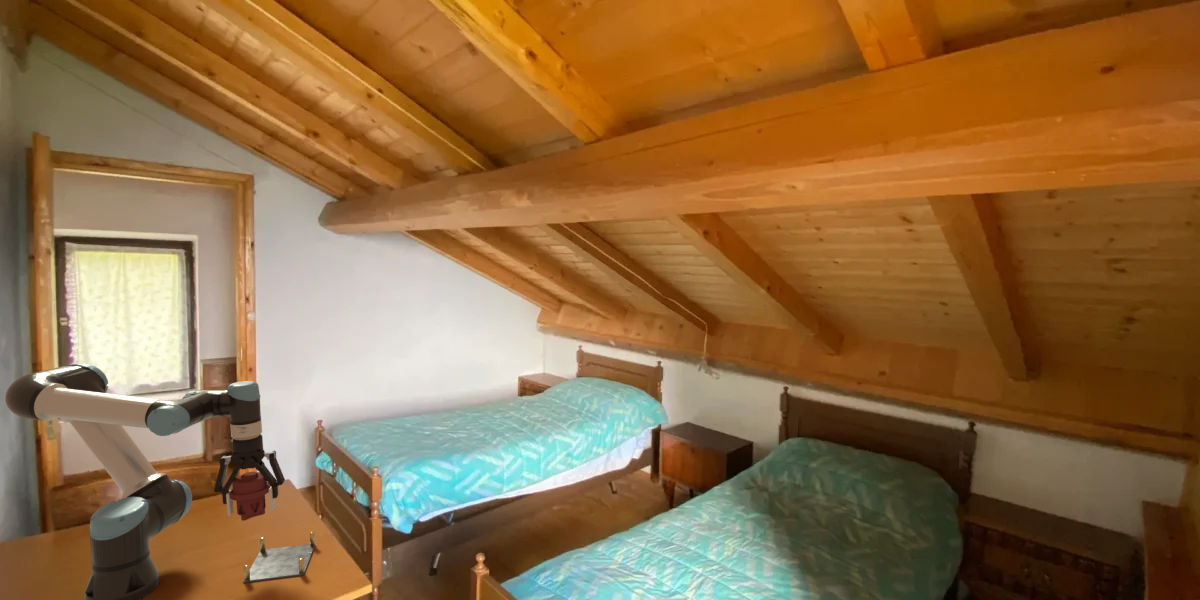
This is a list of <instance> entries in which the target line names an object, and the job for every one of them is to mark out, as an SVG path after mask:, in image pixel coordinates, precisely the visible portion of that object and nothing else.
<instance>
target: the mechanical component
mask: <svg viewBox="0 0 1200 600" xmlns="http://www.w3.org/2000/svg"><path fill="white" fill-rule="evenodd" d="M231 486H232V489H230V490H231V491H230V498H231V499H232V500H233V501H236V512H237V513H236V514H237V515H238V516H240V517H241V521H243V522H244V521H247V520H250V519H252V518H255V517H258V516H263V515H265V514H266V506H267V505H266V495H267V494H269V488H270V485H269V483H268V482H267V481H266V480H265V478H264V477H263V476H262V475H261V473H260V472H259V471H258V472H257V471H247V472H245V473H243V474H241V475H237V476H236V478H235V479H234V480H233V481H232V485H231Z"/></svg>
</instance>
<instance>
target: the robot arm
mask: <svg viewBox="0 0 1200 600" xmlns="http://www.w3.org/2000/svg"><path fill="white" fill-rule="evenodd" d="M108 384H109V380H108V378H107V375H106V374H105V372H103V371H102V370H101V369H100V368H99V367H97V366H95V365H92V364H89V363H81V362H80V363H71V364H64V365H62V366H59V367H54V368H49V369H46V370H41V371H35V372H32V373H27V374H25V375H22V376H20V377H18V378H17V379H16V380H15V381H13V382H12V383H11V384H10V386H9V387H8V388H7V390H6V392H5V393H6V394H5V399H4V400H5V404H6V406H7V408H8V409H9V411H11V412H12V413H13V414H15V415H16V416H18V417H21V418H22V419H23V418H24V419H28V420H35V421H45V422H48V421H49V422H50V421H54V420H56V419H58V421H59V422H63V423H69V424H70V425H71V426H72V427H73V428H74V430H75V431H76V432H77V434H78V435H79V436H80V438H81V439H82V441H83V442H84V443H85V444H86V446H87V447H88V448H89V450H90V451H91V452H92V454H93V455H94V456H95V458H96V459H97V460H98V462H99V463H100V465H101V466H102V467H103V468H104V469H105V471H106V472H107V473H108V475H109V476H110V477H111V479H112V480H113V482H114V483H115V484H116V485H117V487H118V488H119V489H120V490H121V492H122V494H121V497H120V498H119V499H118V500H112V501H110V502H108V503H106V504H105V505H103V506H101V507H99V508H98V509H97V510H96V511H94V513H93V514H92V516H91V517H90V520H89V521H90V522H89V523H90V524H89V531H88V532H89V539H90V553H91V555H90V557H91V567H92V568H91V574H90V576H89V579H88V582H87V585H86V588H85V590H84V594H83V595H84V596H83V597H84V600H140V599H141V598H144V597H145V596H147V595H148V594H150V593H151V592H153V591H154V590H155V589H156V588H157V587H158V585H159V583H160V574H159V573H160V572H159V570H158V568H157V566H156V564H154V561H153V559H152V558H151V555H150V539H153V537H155V536H156V535H158V534H160V533H162V532H163V531H165V530H166V529H167V528H169V527H171V526H172V525H174V524H176V523H177V522H178V521H180V519H181V518H183V517H184V516H185V515H187V513H188V512H189V511H190V509H191V507H192V502H193V495H192V491H191V489H190V487H189V485H188V484H186V483H185V482H184V481H182V480H179V479H171V478H170V477H169V475H168V474H167V473H165V472H157V471H156V469H155V468H154V466H153V465H152V464H151V463H150V461H149V460H148V458H147V457H146V456H145V455H144V453H143V452H142V450H141V449H140V448H139V446H138V445H137V444H136V443H135V441H134V440H133V439H132V437H131V436H130V435H129V433H128V431H126V429H125V428H124V427H134V428H141V429H143V428H144V429H149V431H150V432H151V433H153V434H155V435H156V436H159V437H167V436H170V435H174V434H178V433H180V432H182V431H184V430H185V429H187V428H190V427H192V426H195V425H197V424H198V423H201V422H203V421H205V420H208V419H210V418H220V417H222V418H223V417H226V418H227V417H229V421H230V422H229V425H230V436H231V438H232V439H231V442H230V443H231V452H232V453H231V455H228V456H227V455H222V457H221V458H220V459H219V470H218V474H217V477H216V481H215V485H214V489H213V492H214V493H220V494H221V496H222V504H223V505H226V513H227V515H226V516H227V517H231V516H232V515H233V513H235V511H234V510H235V509H234V500H232V499H231V498H230V491H231V490H232V489H230V488H231V486H233V485H232V481H233V480H234V479H235V478H236V477H238V474H239V473H240V470H247V469H251V470H252V469H256V471H258V472H260V473H261V475H262V476H263V477H264V478H265V480H266V481H267V482H268V483H269V485H270V488H269V492H268V498H269V499H268V500H269V501H268V502H269V512H272V511H274V510H275V508H276V499H278V496H279V486H282V485H283V484H284V483H285V481H286V478H285V477H284V474H283V471H282V469H281V467H280V465H279V462H278V460H277V451H276V450H272V451H268V452H267V451H265V449H264V440H263V434H262V433H263V428H262V426H263V424H262V416H261V414H262V413H261V394H260V386H259V384H258V382H257V381H254V380H244V381H236V382H233V383H231V384H228V386H227V389H198V390H191V391H188V392H186V393H185V395H184V396H183V397H182V398H181V399H179V400H175V401H173V400H167V399H166V400H164V399H157V398H150V397H149V398H148V397H142V396H141V397H140V396H131V395H123V394H117V393H115V394H114V393H107V392H108V390H109V386H108ZM264 458H266V460H268V461H269V466H270V467H271V469H272V472H271V471H270V470H269V468H267V466H266V464H265V462H264V461H263V459H264ZM230 462H232V463H233V464H234V465H235V467H234V469H232V472H231V473H230V476H229V477H228V479H227V481H226V482H225V484H224V480H225V477H226V473H227V470H228V466H229V464H230ZM223 484H224V486H223Z"/></svg>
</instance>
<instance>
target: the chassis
mask: <svg viewBox="0 0 1200 600" xmlns="http://www.w3.org/2000/svg"><path fill="white" fill-rule="evenodd" d="M315 535H316V532H315V531H313V530H312V531H310V532H309V543H308V544H298V545H287V546H281V547H272V548H266V536H261V537H259V552H258V554H257V556H256V558H255V559H254V561H253V563H252V564H251V565H250V564H249V563H248V564H244V565H243V583H244V584H245V583H253V582H261V581H262V582H263V581H268V580H270V581H271V580H277V579H284V578H291V577H300V576H304V575H306V571H307V568H308V566H309V563H310V560H311V557H312V554H313V552H314V550H315V546H316V536H315ZM250 566H251V567H250Z"/></svg>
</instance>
